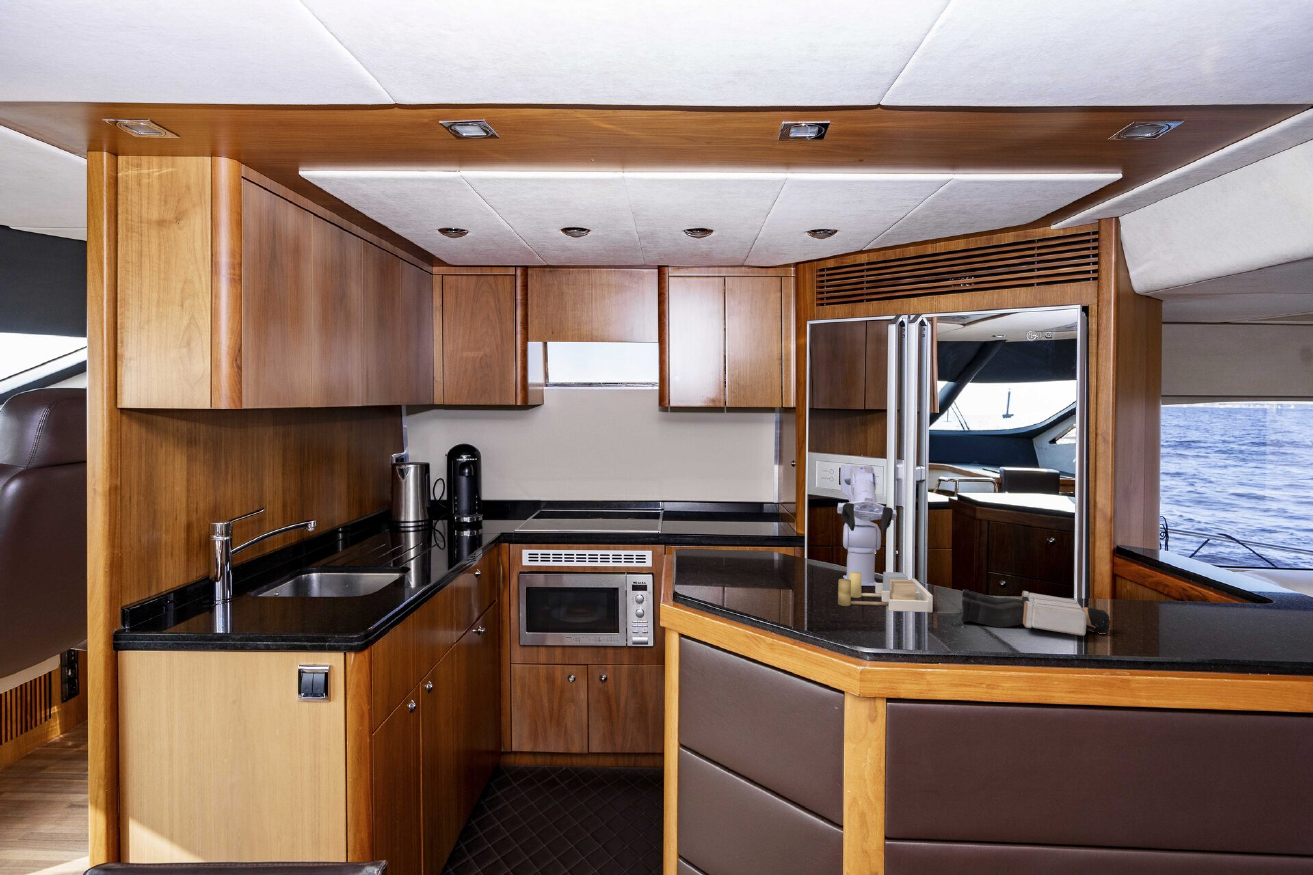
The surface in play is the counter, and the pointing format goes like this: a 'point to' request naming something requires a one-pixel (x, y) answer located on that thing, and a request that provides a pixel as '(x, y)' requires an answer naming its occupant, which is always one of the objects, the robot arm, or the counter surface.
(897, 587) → the beige long piece
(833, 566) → the counter surface
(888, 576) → the grey handled block
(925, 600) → the rack
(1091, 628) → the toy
